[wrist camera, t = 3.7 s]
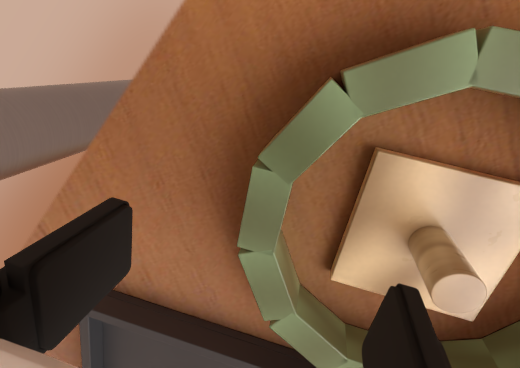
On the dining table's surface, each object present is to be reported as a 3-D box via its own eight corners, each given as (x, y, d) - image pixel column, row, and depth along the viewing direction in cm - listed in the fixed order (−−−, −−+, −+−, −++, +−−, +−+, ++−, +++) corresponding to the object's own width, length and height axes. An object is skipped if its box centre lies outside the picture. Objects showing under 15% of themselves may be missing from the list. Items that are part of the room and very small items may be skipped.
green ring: (230, 310, 21) (217, 341, 19) (294, 0, 13) (287, -14, 11) (517, 402, 19) (544, 451, 16) (786, 95, 11) (908, 102, 9)
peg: (329, 271, 18) (330, 333, 14) (375, 146, 15) (394, 177, 11) (466, 311, 17) (511, 390, 13) (546, 187, 14) (639, 239, 10)
